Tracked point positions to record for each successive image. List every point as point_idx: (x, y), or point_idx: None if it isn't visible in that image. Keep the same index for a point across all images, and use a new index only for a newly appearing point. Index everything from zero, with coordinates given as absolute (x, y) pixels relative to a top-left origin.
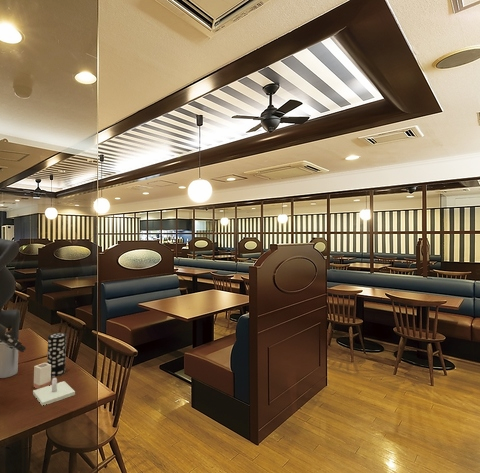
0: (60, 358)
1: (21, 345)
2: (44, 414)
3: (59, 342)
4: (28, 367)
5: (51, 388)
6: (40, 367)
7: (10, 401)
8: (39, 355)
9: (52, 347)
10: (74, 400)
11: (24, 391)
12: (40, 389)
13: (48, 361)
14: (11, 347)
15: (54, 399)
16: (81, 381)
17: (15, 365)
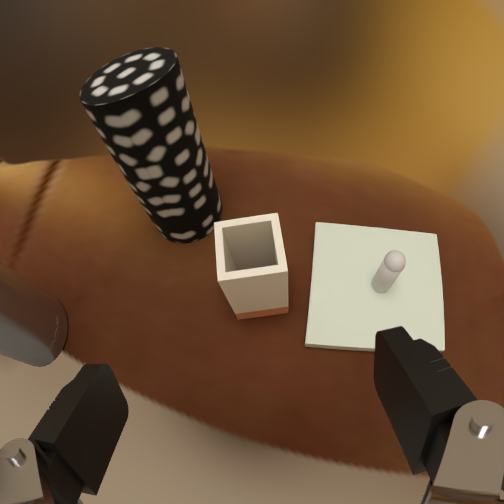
0: (205, 159)
1: (440, 385)
2: (491, 362)
3: (180, 93)
4: (56, 258)
5: (348, 281)
6: (226, 257)
7: (297, 432)
8: (21, 203)
9: (163, 137)
10: (467, 258)
11: (248, 361)
12: (320, 316)
13: (166, 202)
14: (119, 414)
15: (441, 307)
16: (341, 183)
17: (43, 301)
